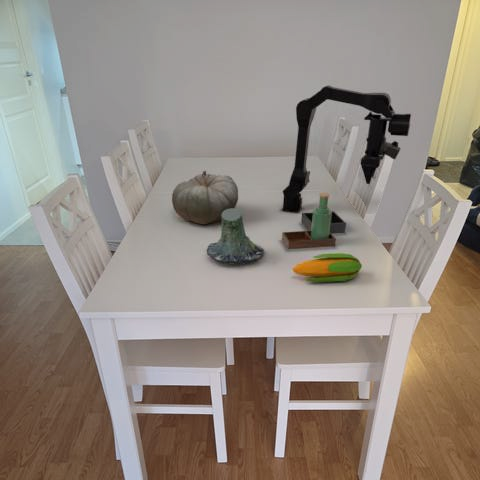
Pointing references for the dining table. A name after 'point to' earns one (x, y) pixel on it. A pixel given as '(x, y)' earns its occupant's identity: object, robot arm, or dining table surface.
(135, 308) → the dining table surface
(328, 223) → the green corked bottle
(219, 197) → the gourd
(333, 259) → the corn
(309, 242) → the wooden box
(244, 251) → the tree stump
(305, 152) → the robot arm
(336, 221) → the tray
